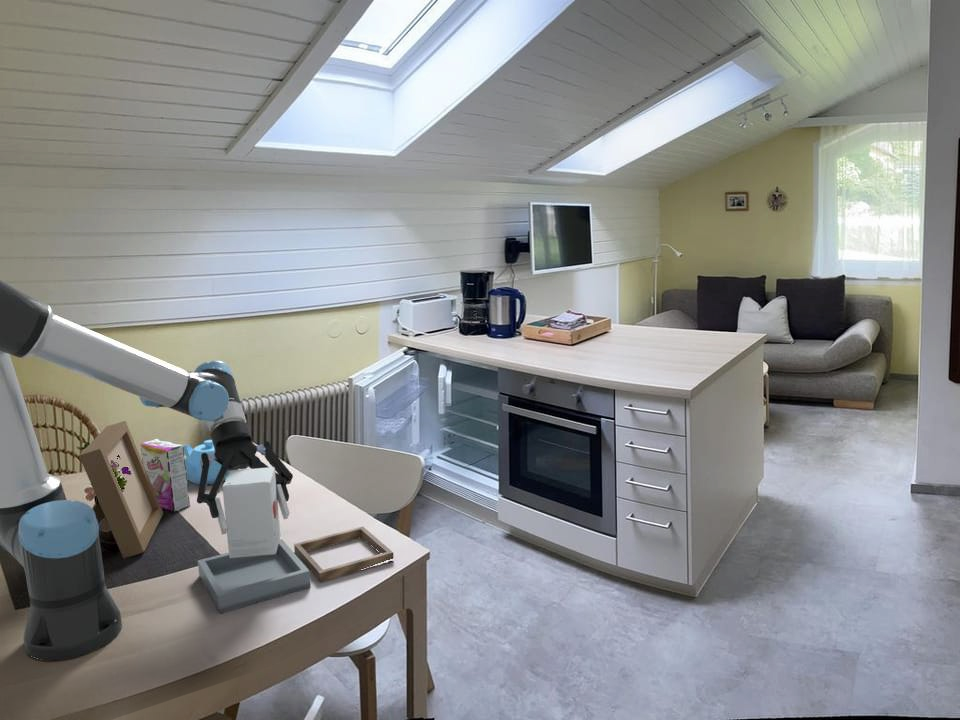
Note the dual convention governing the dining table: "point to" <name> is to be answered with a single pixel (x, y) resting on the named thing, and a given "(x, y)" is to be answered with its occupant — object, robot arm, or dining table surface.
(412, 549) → the dining table surface
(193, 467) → the teapot
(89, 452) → the photo frame
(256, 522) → the supplement box
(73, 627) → the robot arm
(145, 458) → the candy bar box
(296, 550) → the walnut collar
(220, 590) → the grey tray
